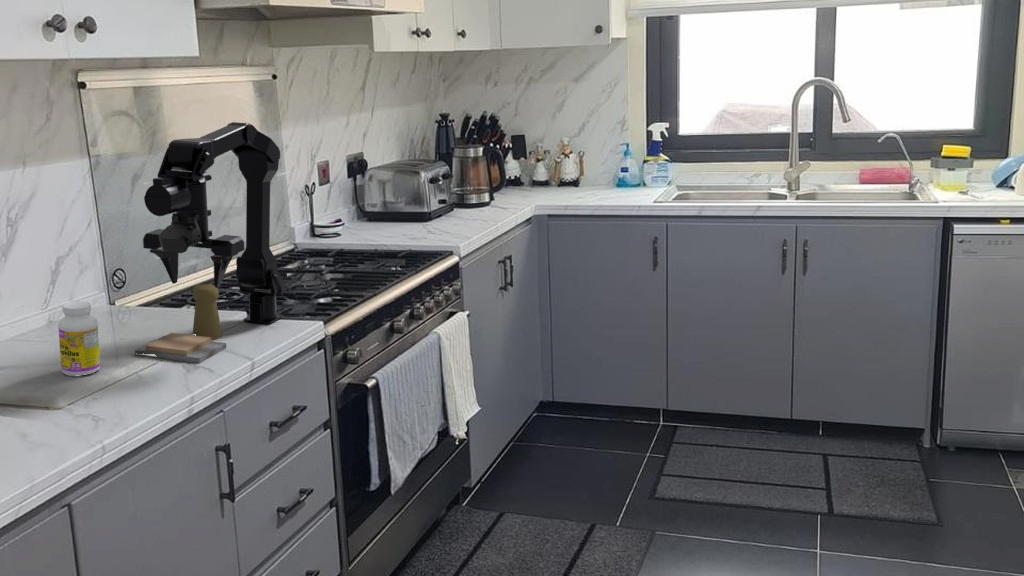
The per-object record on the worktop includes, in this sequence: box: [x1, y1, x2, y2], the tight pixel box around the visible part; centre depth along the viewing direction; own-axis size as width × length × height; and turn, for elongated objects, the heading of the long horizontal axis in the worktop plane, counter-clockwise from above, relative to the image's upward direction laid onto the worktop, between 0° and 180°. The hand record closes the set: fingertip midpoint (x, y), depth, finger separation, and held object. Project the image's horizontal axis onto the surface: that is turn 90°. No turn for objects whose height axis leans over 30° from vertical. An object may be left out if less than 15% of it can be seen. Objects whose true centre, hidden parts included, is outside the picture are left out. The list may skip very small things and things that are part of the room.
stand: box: [134, 332, 227, 364], centre depth 195 cm, size 10×14×2 cm
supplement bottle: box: [57, 301, 101, 377], centre depth 180 cm, size 7×7×13 cm
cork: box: [192, 283, 223, 341], centre depth 204 cm, size 6×6×11 cm
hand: (195, 285), depth 191 cm, fingers open, 9 cm apart
